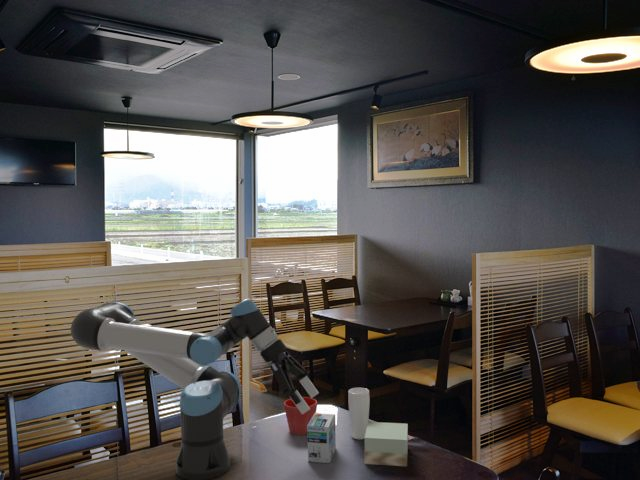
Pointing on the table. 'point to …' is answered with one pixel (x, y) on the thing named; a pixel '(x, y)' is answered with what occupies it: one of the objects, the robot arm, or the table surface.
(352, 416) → the drinking glass
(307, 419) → the flower pot
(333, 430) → the light bulb box
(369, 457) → the birch slab
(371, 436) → the sage slab
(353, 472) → the table surface
